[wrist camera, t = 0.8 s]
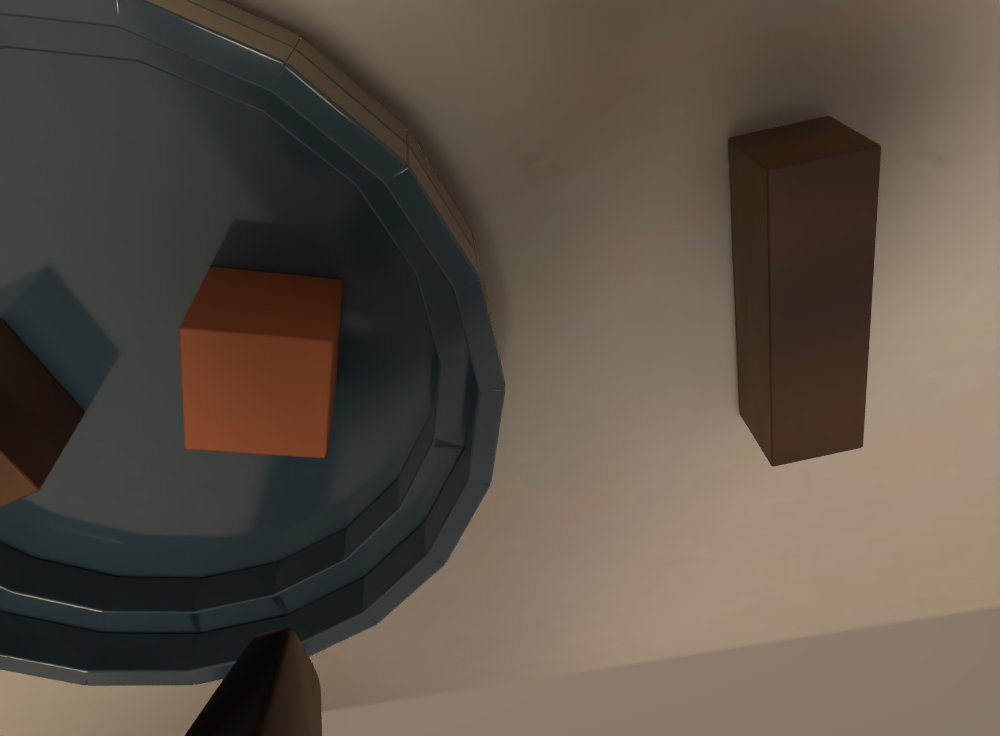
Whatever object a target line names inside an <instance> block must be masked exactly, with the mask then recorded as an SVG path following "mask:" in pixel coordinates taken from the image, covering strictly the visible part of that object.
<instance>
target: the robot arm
mask: <svg viewBox="0 0 1000 736" xmlns="http://www.w3.org/2000/svg"><path fill="white" fill-rule="evenodd" d="M185 736H322V723H321V690H320V683H319V678H318V675H317V672H316V670H315V668H314V666H313V664H312V662H311V660H310V658H309V657H308V655H307V653H306V651H305V649H304V647H303V645H302V643H301V641H300V639H299V637H298V635H297V634H296V633H295V631H294V630H292V629H291V628H282V629H277V630H273V631H269V632H264V633H260V634H258V635H256V636H255V637H254V638H253V639H251V641H250V642H249V643H248V645H247V646H246V648H245V649H244V651H243V652H242V653H241V655H240V656H239V658H238V659H237V661H236V662H235V664H234V665H233V667H232V668H231V669H230V671H229V672H228V674H227V675H226V677H225V678H224V680H223V681H222V682H221V684H220V685H219V687H218V688H217V690H216V691H215V693H214V694H213V695H212V697H211V698H210V700H209V701H208V703H207V704H206V706H205V707H204V708H203V710H202V711H201V713H200V714H199V716H198V717H197V719H196V720H195V722H194V723H193V724H192V726H191V727H190V729H189V730H188V732H187V733H186V735H185Z"/></svg>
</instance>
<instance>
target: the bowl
mask: <svg viewBox="0 0 1000 736" xmlns="http://www.w3.org/2000/svg"><path fill="white" fill-rule="evenodd" d="M209 267H221V268H231V269H241V270H251V271H261V272H271V273H281V274H291V275H301V276H311V277H321V278H331V279H340V280H342V282H343V287H342V302H341V317H340V333H339V348H338V363H337V378H336V389H335V397H334V404H333V411H332V418H331V426H330V433H329V440H328V448H327V455H326V456H325V458H313V457H298V456H282V455H267V454H251V453H236V452H220V451H205V450H189V449H185V447H184V433H183V413H182V392H181V372H180V351H179V331H178V330H179V327H180V325H181V323H182V321H183V319H184V317H185V315H186V313H187V311H188V309H189V307H190V305H191V303H192V301H193V299H194V297H195V295H196V293H197V291H198V289H199V287H200V285H201V283H202V281H203V279H204V277H205V275H206V273H207V271H208V269H209ZM0 319H1V320H3V321H4V322H5V324H6V325H7V326H8V327H9V328H10V329H11V330H12V331H13V333H14V334H15V335H16V336H17V337H18V338H19V339H20V340H21V342H22V343H23V344H24V345H25V346H26V347H27V348H28V350H29V351H30V352H31V353H32V354H33V355H34V356H35V357H36V359H37V360H38V361H39V362H40V363H41V364H42V365H43V367H44V368H45V369H46V370H47V371H48V372H49V373H50V374H51V376H52V377H53V378H54V379H55V380H56V381H57V382H58V384H59V385H60V386H61V387H62V388H63V389H64V390H65V391H66V393H67V394H68V395H69V396H70V397H71V398H72V399H73V401H74V402H75V403H76V404H77V405H78V406H79V407H80V408H81V410H82V411H83V412H84V416H83V418H82V420H81V421H80V423H79V425H78V426H77V428H76V430H75V431H74V433H73V435H72V436H71V438H70V440H69V441H68V443H67V445H66V446H65V448H64V450H63V452H62V453H61V455H60V457H59V458H58V460H57V462H56V463H55V465H54V467H53V468H52V470H51V472H50V473H49V475H48V477H47V478H46V480H45V482H44V484H43V485H42V487H41V489H40V490H39V491H38V492H36V493H33V494H31V495H28V496H26V497H24V498H21V499H19V500H17V501H14V502H12V503H10V504H7V505H5V506H3V507H0V669H1V670H6V671H11V672H17V673H22V674H27V675H33V676H38V677H43V678H48V679H54V680H59V681H64V682H70V683H75V684H80V685H89V686H110V685H193V684H196V685H197V684H201V683H206V682H211V681H215V680H220V679H224V678H225V677H226V675H227V674H228V672H229V671H230V669H231V668H232V667H233V665H234V664H235V662H236V661H237V659H238V658H239V656H240V655H241V653H242V652H243V651H244V649H245V648H246V646H247V645H248V643H249V642H250V641H251V639H253V638H254V637H255V636H256V635H258V634H260V633H264V632H269V631H273V630H277V629H282V628H291V629H292V630H294V631H295V633H296V634H297V635H298V637H299V639H300V641H301V643H302V645H303V647H304V649H305V651H306V653H307V655H308V657H309V656H311V655H313V654H315V653H317V652H320V651H322V650H324V649H326V648H328V647H330V646H332V645H334V644H336V643H339V642H341V641H343V640H345V639H347V638H349V637H351V636H353V635H355V634H357V633H360V632H362V631H364V630H366V629H368V628H370V627H372V626H374V625H376V624H377V623H378V622H380V621H381V620H382V619H383V618H385V617H386V616H387V615H388V614H389V613H390V612H391V611H393V610H394V609H395V608H396V607H397V606H398V605H399V604H400V603H402V602H403V601H404V600H405V599H406V598H407V597H408V596H410V595H411V594H412V593H413V592H414V591H415V590H416V589H417V588H419V587H420V586H421V585H422V584H423V583H424V582H425V581H427V580H428V579H429V578H430V577H431V576H432V575H433V574H434V573H436V572H437V571H438V570H439V569H440V568H441V567H442V566H444V564H445V563H446V562H447V560H448V559H449V557H450V555H451V553H452V552H453V550H454V548H455V546H456V545H457V543H458V541H459V539H460V538H461V536H462V534H463V532H464V531H465V529H466V527H467V525H468V523H469V522H470V520H471V518H472V516H473V515H474V513H475V511H476V509H477V508H478V506H479V504H480V502H481V501H482V499H483V497H484V495H485V494H486V492H487V490H488V488H489V487H490V483H491V481H492V475H493V468H494V462H495V455H496V448H497V442H498V435H499V428H500V422H501V415H502V408H503V402H504V395H505V381H504V376H503V371H502V366H501V361H500V356H499V350H498V345H497V340H496V335H495V330H494V325H493V321H492V316H491V312H490V307H489V303H488V299H487V294H486V290H485V285H484V281H483V276H482V272H481V268H480V263H479V259H478V254H477V250H476V245H475V241H474V237H473V234H472V232H471V229H470V227H469V226H468V224H467V222H466V221H465V219H464V218H463V216H462V214H461V213H460V211H459V210H458V208H457V206H456V205H455V203H454V201H453V200H452V198H451V197H450V195H449V193H448V192H447V190H446V189H445V187H444V185H443V184H442V182H441V180H440V179H439V177H438V176H437V174H436V172H435V171H434V169H433V168H432V166H431V164H430V163H429V161H428V159H427V158H426V156H425V155H424V153H423V151H422V150H421V148H420V147H419V145H418V143H417V142H416V140H415V139H414V137H413V135H412V134H411V132H410V131H409V130H407V128H406V127H405V125H404V124H402V123H401V122H400V121H399V120H398V119H397V118H395V117H394V116H393V115H392V114H391V113H390V112H389V111H387V110H386V109H385V108H384V107H383V106H382V105H380V104H379V103H378V102H377V101H376V100H375V99H373V98H372V97H371V96H370V95H369V94H368V93H367V92H365V91H364V90H363V89H362V88H361V87H360V86H358V85H357V84H356V83H355V82H354V81H353V80H351V79H350V78H349V77H348V76H347V75H346V74H345V73H343V72H342V71H341V70H340V69H339V68H338V67H336V66H335V65H334V64H333V63H332V62H331V61H329V60H328V59H327V58H326V57H325V56H324V55H322V54H321V53H320V52H319V51H318V50H317V49H316V48H314V47H313V46H312V45H311V44H310V43H309V42H307V41H306V40H305V39H300V36H299V35H297V34H295V33H293V32H291V31H288V30H286V29H284V28H282V27H279V26H277V25H275V24H273V23H271V22H268V21H266V20H264V19H262V18H259V17H257V16H255V15H253V14H250V13H248V12H246V11H244V10H242V9H239V8H237V7H235V6H233V5H230V4H228V3H226V2H224V1H221V0H0Z"/></svg>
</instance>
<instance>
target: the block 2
mask: <svg viewBox="0 0 1000 736" xmlns="http://www.w3.org/2000/svg"><path fill="white" fill-rule="evenodd" d="M342 287H343V282H342V280H340V279H331V278H321V277H311V276H301V275H291V274H281V273H271V272H261V271H251V270H241V269H231V268H221V267H209V269H208V271H207V273H206V275H205V277H204V279H203V281H202V283H201V285H200V287H199V289H198V291H197V293H196V295H195V297H194V299H193V301H192V303H191V305H190V307H189V309H188V311H187V313H186V315H185V317H184V319H183V321H182V323H181V325H180V327H179V330H178V331H179V351H180V372H181V392H182V413H183V433H184V447H185V449H189V450H205V451H220V452H236V453H251V454H267V455H282V456H298V457H313V458H325V456H326V455H327V448H328V440H329V433H330V426H331V418H332V411H333V404H334V397H335V389H336V378H337V363H338V348H339V333H340V317H341V302H342Z"/></svg>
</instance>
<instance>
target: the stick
mask: <svg viewBox="0 0 1000 736" xmlns="http://www.w3.org/2000/svg"><path fill="white" fill-rule="evenodd" d="M880 156H881V146H880V145H879V144H878V143H876V142H874V141H872V140H871V139H869V138H867V137H866V136H864V135H862V134H860V133H859V132H857V131H855V130H853V129H852V128H850V127H848V126H846V125H845V124H843V123H841V122H840V121H838V120H836V119H834V118H833V117H831V116H827V117H823V118H818V119H814V120H809V121H805V122H800V123H796V124H791V125H787V126H782V127H777V128H773V129H768V130H764V131H759V132H755V133H750V134H746V135H741V136H737V137H732V138H730V139H729V158H730V182H731V207H732V231H733V255H734V280H735V304H736V328H737V353H738V377H739V401H740V415H741V417H742V418H743V420H744V422H745V423H746V425H747V426H748V428H749V430H750V431H751V433H752V435H753V436H754V438H755V439H756V441H757V443H758V444H759V446H760V448H761V449H762V451H763V452H764V454H765V456H766V457H767V459H768V461H769V462H770V464H771V465H772V466H778V465H783V464H787V463H792V462H797V461H801V460H806V459H811V458H815V457H820V456H825V455H829V454H834V453H839V452H843V451H848V450H853V449H857V448H861V447H863V436H864V419H865V403H866V386H867V370H868V353H869V337H870V321H871V304H872V288H873V271H874V255H875V238H876V222H877V205H878V189H879V172H880Z"/></svg>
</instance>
